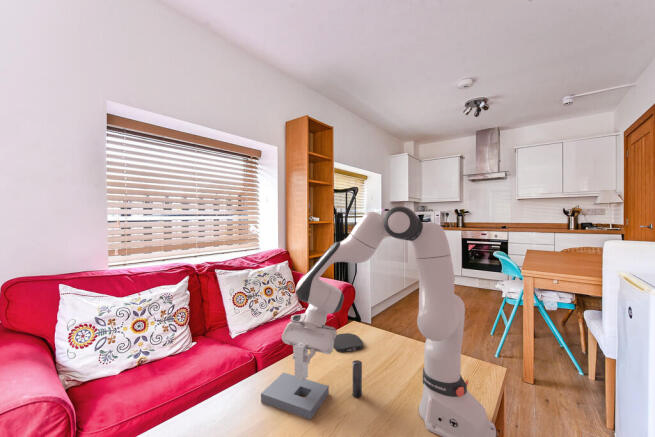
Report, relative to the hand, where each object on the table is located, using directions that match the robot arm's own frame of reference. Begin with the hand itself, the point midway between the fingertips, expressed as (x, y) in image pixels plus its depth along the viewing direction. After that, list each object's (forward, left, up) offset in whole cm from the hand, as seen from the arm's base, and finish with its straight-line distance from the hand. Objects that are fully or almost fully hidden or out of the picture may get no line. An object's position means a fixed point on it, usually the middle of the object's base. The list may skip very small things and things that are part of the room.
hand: (300, 360), depth 97 cm
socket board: (+2, 0, -14) cm, 15 cm away
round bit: (-12, -17, -14) cm, 25 cm away
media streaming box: (+16, -43, -15) cm, 48 cm away
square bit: (0, -1, -7) cm, 7 cm away
